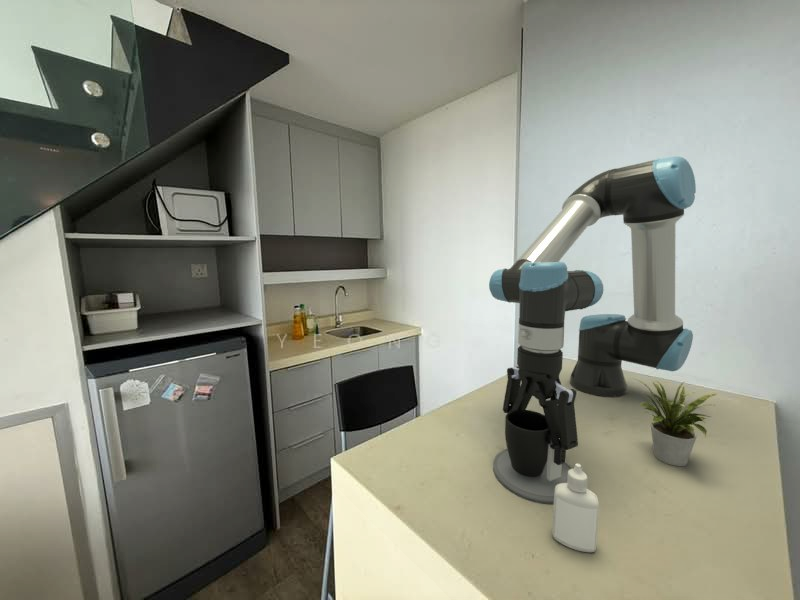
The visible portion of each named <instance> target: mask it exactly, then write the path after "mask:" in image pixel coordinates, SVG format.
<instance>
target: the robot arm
mask: <svg viewBox="0 0 800 600" xmlns="http://www.w3.org/2000/svg"><path fill="white" fill-rule="evenodd" d="M695 179H696V177H695V175H694V170H693V168H692V166H691V164H690V163H689V161H688V160H687V159H686V158H684V157H682V156H670V157H663V158H657V159H652V160H648V161H645V162H639V163H636V164H631V165H627V166H623V167H618V168H612V169H608V170H606V171H603V172H601V173H599V174H597V175H594V176H593V177H591V178H590V179H588V180H587V181H585V182H584V183H583V184H582V185H580V186H579V187H578V188H576V189H575V190H574V191H573V192H572V193H571V194H570V195H569V196H568V197H567V198H566V199H565V201H564V202H563V204H562V206H561V211H560V212H558V214H557V215H556V216H555V217H554V219H553V220H552V221H551V222H550V223H549V224H548V225H547V226H546V227H545V229H543V231H542V232H541V233H540V234H539V235H538V236H537V237H536V239H535V240H534V241H533V242H532V243H531V244H530V245H529V247H527V249H526V250H524V252H523V253H522V255H521V256H520V257H519V258H518V259H517V260H516V261H515V263H513V265H512V266H511V267H510V268H505V267H504V268H503V269H502V268H501V269H500V268H499V269H497V270H495V271H494V272H493V273H492V274H491V276H490V278H489V283H488V284H489V285H488V287H489V291H490V293H491V296H492V297H493V298H494V299H496V300H499V301H503V302H507V303H514V304H519V308H518V309H519V313H518V315H519V318H518V333H517V334H518V336H517V339H518V340H517V343H518V345H519V346H518V347H517V357H516V358H517V360H516V361H517V363H516V365H517V366H514V367H513V366H512V367H508V368H507V369H506V375H507V381H506V387H505V393H504V398H503V399H504V400H503V405H502V411H503V413H504V414H507V413H509V412H510V411H513V410H527V407H528V405H529V403H530V401H531V399H532V397H534V398H535V399H537V400H538V404H539V406H540V407H541V408H542V410H543V415H545V418H546V422H547V425H548V429H550V436H551V440H552V443H551V444H549V446H548V459H547V479H548V480H549V481H551V480H554V479H556V478H559V477H561V468H562V464H564V463H565V462H566V455H567V451H568V450H571V449H574V448H576V447H577V448H578V446H579V440H578V430H577V418H576V417H577V416H576V409H575V402H576V397H577V391H576V390H578V391H581V392H583V393H587V394H590V395H594V396H601V397H610V398H613V397H614V398H615V397H621V396H625V395H626V394H627V389H628V388H627V387H628V384H627V382H626V378H625V375H624V371H623V368H622V361H624V362H626V363H632V364H636V365H641V366H645V367H649V368H653V369H656V370H662V371H667V372H676V371H679V370H680V369H681V368H682V367H683V366H684V364H685V362H686V361H687V358H688V356H689V354H690V351H691V348H692V345H693V339H694V334H693V331H692V330H690V329H689V328H684V320H683V319H682V318H681V317H679V316H678V315H677V314H676V223H677V222H679V220H680V219H681V218H682V217H684V216H685V210H686V209H688V208H691V206H692V205H693V204H694V202H695V199H696V192H697V191H696V190H697V189H696V186H697V185H696V180H695ZM620 215H621V216H623V217H622V218H623V219H622V220H623V225H626V226H627V227H628V228H630V232H631V234H630V236H631V238H630V239H631V260H632V261H631V262H632V263H631V264H632V289H633V290H632V293H633V295H632V296H633V314H632V315H631V316H629V317H628V318H626V316H625V315H624V314H618V313H617V314H616V313H613V314H612V313H608V314H607V313H604V314H601V313H600V314H589V315H585V316H583V317H582V318H581V319H580V323H579V327H578V328H579V329H578V347H577V349H578V350H577V351H578V352H577V361H576V364H575V366H574V367H573V370H572V373H570V374H571V375H570V377H569V378H570V379H569V381H570V382H569V383H570V385H571V386H572V387H573V388H569V389H568V388H567V387H565V386H564V385H562V383H561V382H562V381H561V380H560V373H561V372H562V369H563V356H564V355H563V354H564V352H563V351H562V349H563V348H564V340H565V339H564V337H565V317H566V312H570V311H577V310H584V309H587V308H589V307H592V306H594V305H596V304H597V303H598V302H599V301H600V300H601V298H602V297H603V294H604V284H603V282H602V279H601V278H600V277H599V276H598V275H597V274H596V273H594V272H593V271H589V270H583V269H582V270H580V269H576V270H568V266H567V264H566V263H565V262H562V261H561V260H562V258H563V257H564V256H565V254H567V252H568V251H569V249H570V248H571V247H572V246H573V245H574V244H575V243H576V241H577V240H578V239H579V237H580V236H581V235H582V234H583V233H584V232H585V230H586V229H587V228H588V227H590V226H593V225H594V224H596V223H597V222H598V221H599V220H600V219H602V218H606V217H611V216H620ZM574 388H575V389H574Z"/></svg>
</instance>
